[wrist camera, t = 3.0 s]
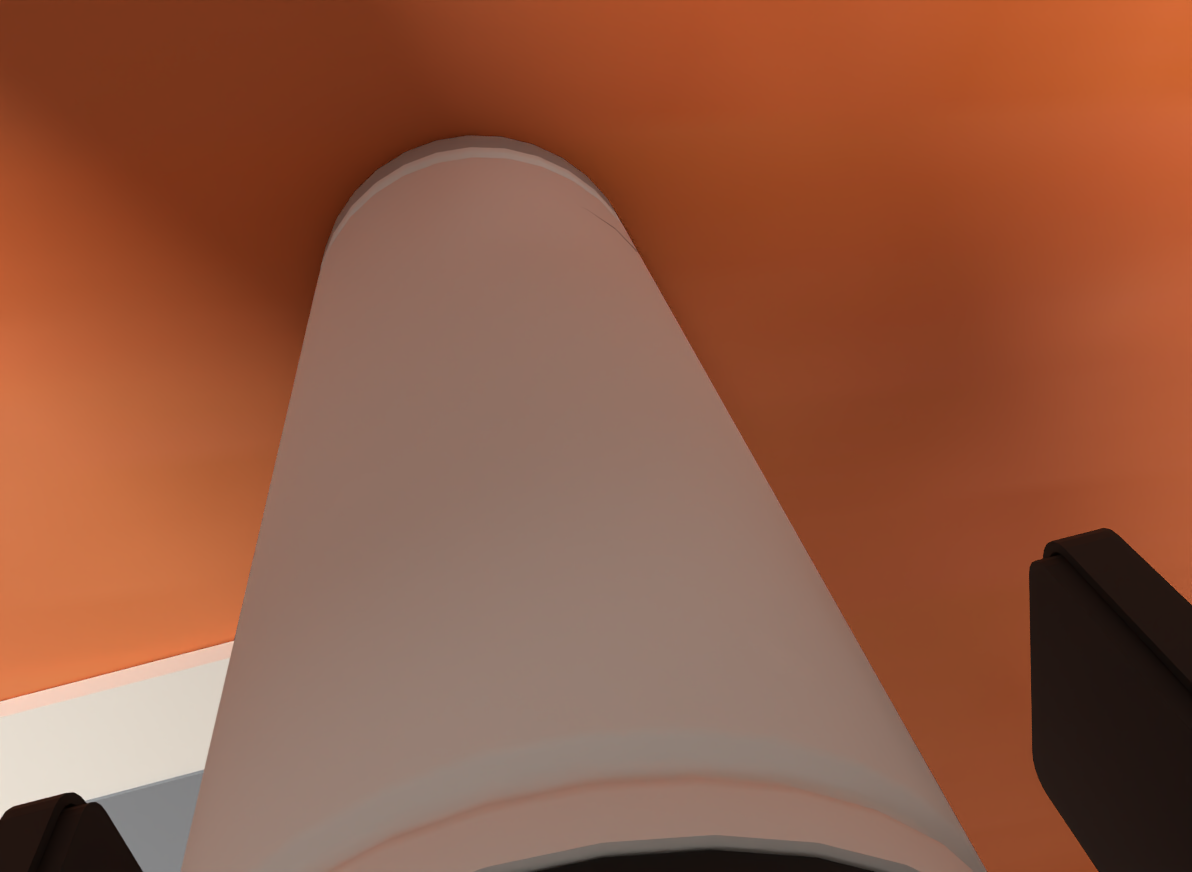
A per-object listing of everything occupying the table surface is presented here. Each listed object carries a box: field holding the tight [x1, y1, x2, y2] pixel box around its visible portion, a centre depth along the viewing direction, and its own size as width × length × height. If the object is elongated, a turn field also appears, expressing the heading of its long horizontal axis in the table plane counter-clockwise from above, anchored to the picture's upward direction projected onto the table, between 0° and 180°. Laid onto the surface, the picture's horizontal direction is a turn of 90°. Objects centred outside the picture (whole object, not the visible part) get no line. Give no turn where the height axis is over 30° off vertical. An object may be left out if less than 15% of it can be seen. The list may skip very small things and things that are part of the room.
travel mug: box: [181, 135, 987, 872], centre depth 13 cm, size 6×7×20 cm
